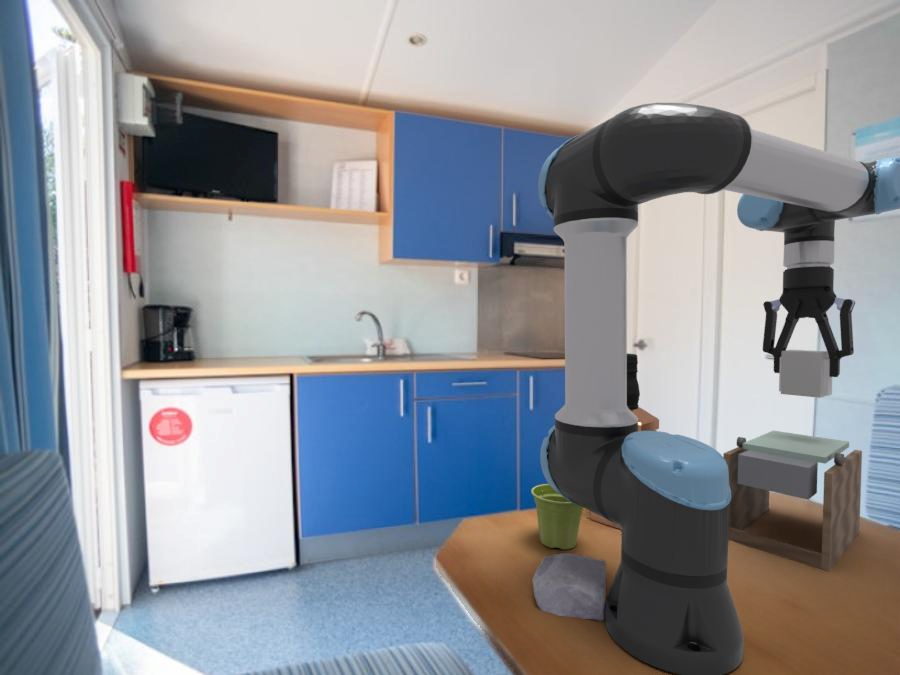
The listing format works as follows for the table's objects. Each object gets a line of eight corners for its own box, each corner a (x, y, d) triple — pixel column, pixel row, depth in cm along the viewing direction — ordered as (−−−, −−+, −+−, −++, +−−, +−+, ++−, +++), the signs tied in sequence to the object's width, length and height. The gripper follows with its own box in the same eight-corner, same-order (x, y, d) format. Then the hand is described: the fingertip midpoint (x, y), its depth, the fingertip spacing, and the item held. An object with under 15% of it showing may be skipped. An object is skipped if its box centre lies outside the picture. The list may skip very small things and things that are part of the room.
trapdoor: (816, 501, 75) (817, 462, 75) (731, 482, 84) (732, 447, 84) (848, 474, 89) (849, 441, 89) (772, 460, 99) (773, 430, 98)
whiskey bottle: (613, 505, 101) (616, 351, 100) (661, 519, 94) (664, 354, 93) (586, 518, 94) (589, 353, 93) (636, 535, 87) (639, 356, 86)
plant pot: (558, 526, 90) (559, 480, 90) (598, 546, 82) (599, 495, 82) (519, 538, 85) (520, 489, 85) (558, 560, 77) (559, 506, 77)
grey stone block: (820, 397, 86) (821, 352, 86) (780, 393, 90) (781, 350, 90) (828, 394, 90) (830, 351, 90) (790, 391, 94) (791, 349, 94)
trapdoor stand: (829, 571, 75) (832, 461, 74) (721, 537, 86) (723, 442, 86) (859, 532, 89) (862, 440, 89) (763, 507, 101) (765, 426, 100)
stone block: (533, 626, 63) (612, 624, 61) (526, 588, 64) (605, 585, 61) (542, 583, 75) (610, 580, 72) (537, 552, 75) (603, 548, 72)
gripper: (880, 264, 85) (876, 396, 85) (756, 272, 99) (754, 386, 100) (871, 260, 80) (867, 401, 81) (743, 270, 94) (740, 389, 95)
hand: (804, 392), depth 90 cm, fingers closed on grey stone block, 6 cm apart
